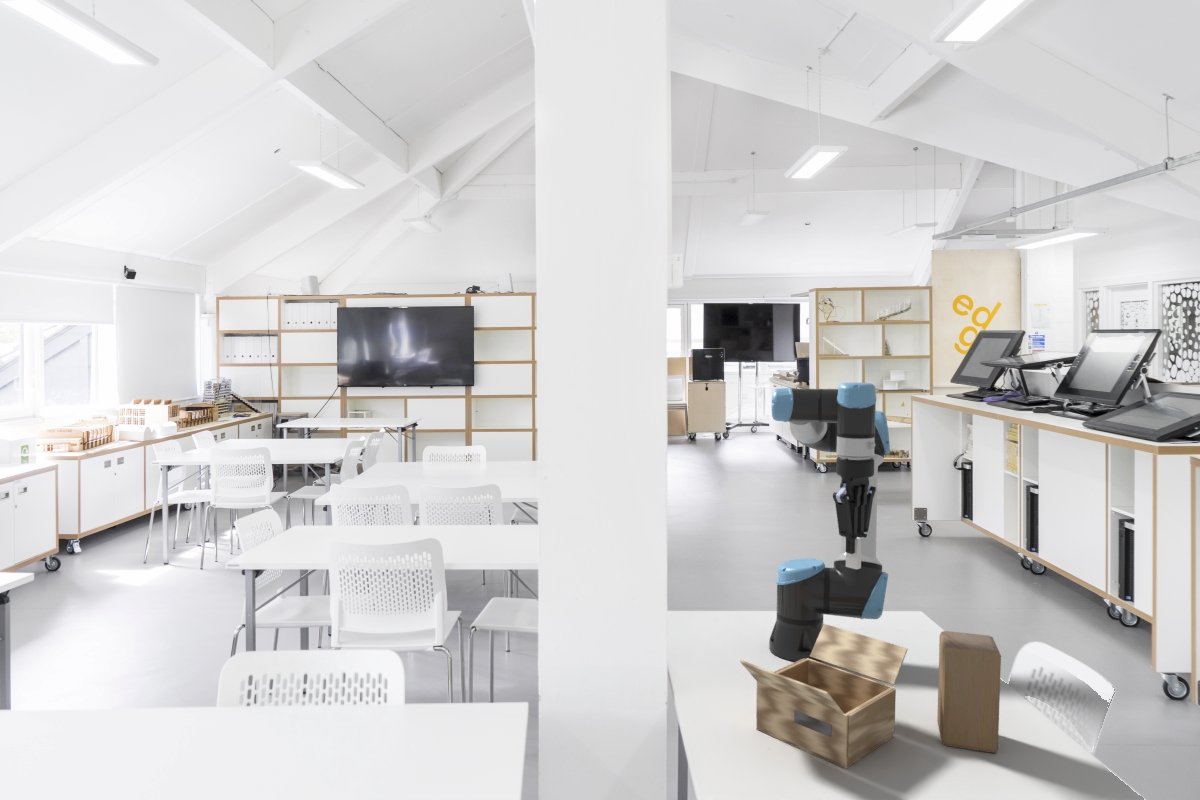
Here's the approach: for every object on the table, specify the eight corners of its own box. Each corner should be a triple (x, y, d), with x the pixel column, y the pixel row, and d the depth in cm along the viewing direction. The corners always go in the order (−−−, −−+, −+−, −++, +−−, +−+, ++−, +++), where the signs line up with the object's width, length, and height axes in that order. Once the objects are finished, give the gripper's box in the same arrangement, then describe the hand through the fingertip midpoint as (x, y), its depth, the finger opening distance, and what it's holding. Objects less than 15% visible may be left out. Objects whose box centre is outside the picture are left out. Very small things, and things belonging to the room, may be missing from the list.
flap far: (809, 656, 167) (823, 623, 170) (810, 656, 167) (824, 624, 171) (893, 684, 153) (907, 648, 156) (894, 685, 153) (907, 649, 156)
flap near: (757, 681, 155) (739, 661, 151) (758, 679, 155) (740, 659, 151) (842, 714, 140) (826, 693, 136) (843, 712, 141) (827, 691, 137)
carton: (754, 728, 156) (754, 680, 156) (804, 702, 168) (805, 657, 168) (847, 770, 141) (848, 717, 140) (896, 737, 153) (897, 688, 152)
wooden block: (990, 731, 155) (993, 634, 154) (998, 755, 146) (1001, 652, 145) (936, 723, 159) (939, 628, 157) (941, 746, 149) (944, 646, 148)
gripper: (854, 462, 153) (852, 578, 155) (888, 455, 162) (885, 565, 164) (821, 458, 159) (820, 569, 161) (856, 451, 167) (854, 557, 169)
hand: (853, 567), depth 162 cm, fingers closed
